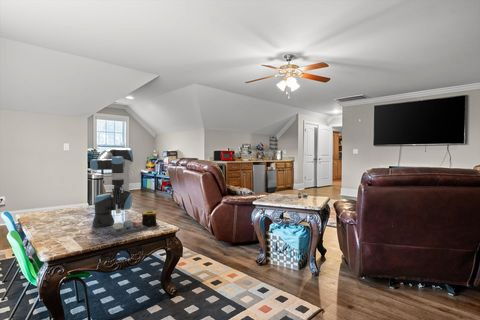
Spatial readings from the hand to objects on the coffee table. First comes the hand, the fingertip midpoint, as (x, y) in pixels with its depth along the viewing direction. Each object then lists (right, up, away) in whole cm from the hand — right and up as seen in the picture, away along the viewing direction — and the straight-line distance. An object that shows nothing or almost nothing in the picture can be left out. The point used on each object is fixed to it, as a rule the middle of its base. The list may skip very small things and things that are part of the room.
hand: (118, 213), depth 188 cm
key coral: (+9, -13, +12) cm, 19 cm away
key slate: (+4, -12, +6) cm, 14 cm away
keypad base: (+4, -14, +6) cm, 16 cm away
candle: (+14, -14, +21) cm, 29 cm away
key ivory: (0, -12, +1) cm, 12 cm away
